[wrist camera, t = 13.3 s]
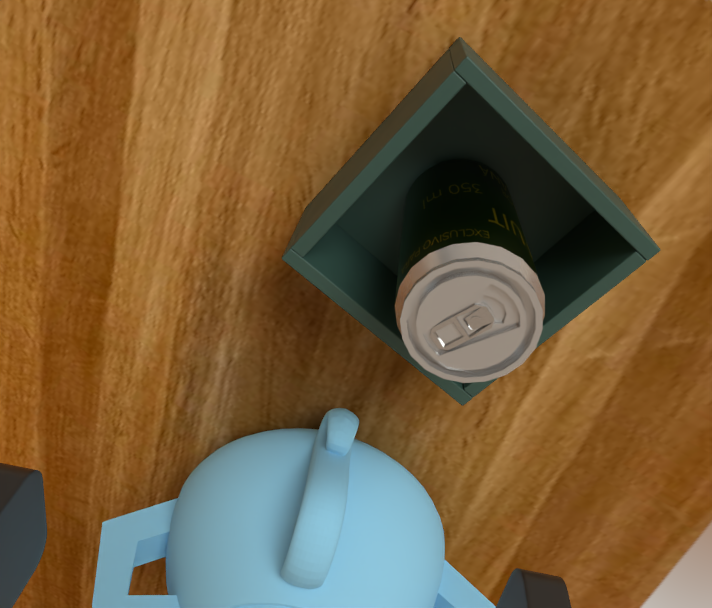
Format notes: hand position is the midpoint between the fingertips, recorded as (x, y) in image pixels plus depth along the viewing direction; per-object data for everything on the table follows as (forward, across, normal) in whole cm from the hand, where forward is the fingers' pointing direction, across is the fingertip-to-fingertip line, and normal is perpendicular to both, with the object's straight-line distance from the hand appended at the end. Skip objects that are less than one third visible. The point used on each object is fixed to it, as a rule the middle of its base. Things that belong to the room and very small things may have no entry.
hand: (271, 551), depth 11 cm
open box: (+25, -5, +2) cm, 25 cm away
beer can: (+24, -5, +2) cm, 25 cm away
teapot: (+25, -1, +26) cm, 36 cm away
